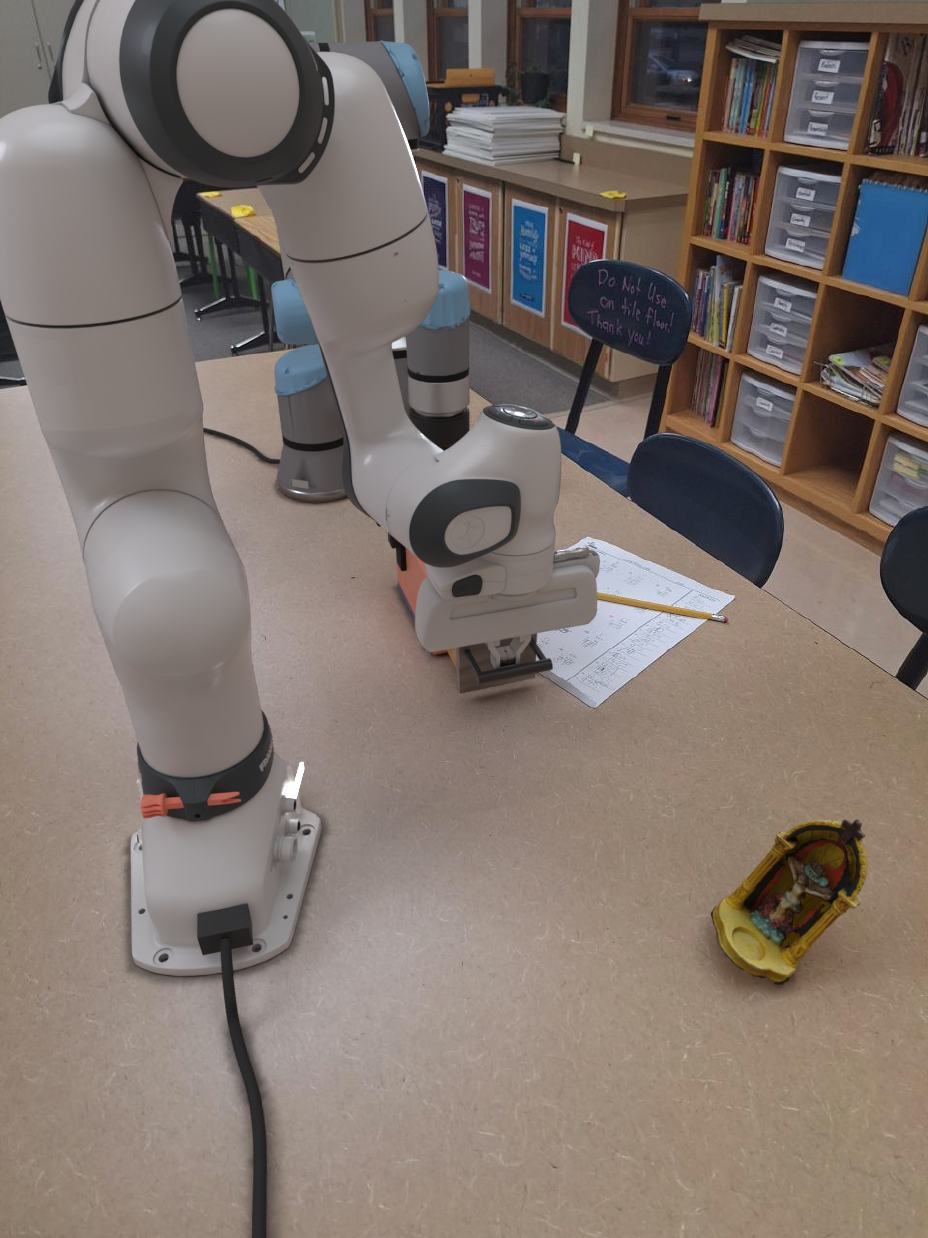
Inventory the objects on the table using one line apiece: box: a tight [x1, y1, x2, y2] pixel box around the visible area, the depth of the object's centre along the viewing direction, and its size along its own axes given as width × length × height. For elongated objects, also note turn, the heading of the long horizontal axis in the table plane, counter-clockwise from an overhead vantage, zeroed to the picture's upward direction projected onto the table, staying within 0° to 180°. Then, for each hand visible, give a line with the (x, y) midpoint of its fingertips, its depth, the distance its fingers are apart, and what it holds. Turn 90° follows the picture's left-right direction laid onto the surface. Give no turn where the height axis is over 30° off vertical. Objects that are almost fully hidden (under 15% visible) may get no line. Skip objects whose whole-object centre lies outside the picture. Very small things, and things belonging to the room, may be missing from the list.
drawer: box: [446, 633, 554, 695], centre depth 105 cm, size 22×10×9 cm, turn 18°
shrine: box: [710, 818, 868, 986], centre depth 72 cm, size 12×8×15 cm
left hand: (504, 663), depth 97 cm, fingers closed
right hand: (442, 559), depth 119 cm, fingers closed on cabinet, 11 cm apart
